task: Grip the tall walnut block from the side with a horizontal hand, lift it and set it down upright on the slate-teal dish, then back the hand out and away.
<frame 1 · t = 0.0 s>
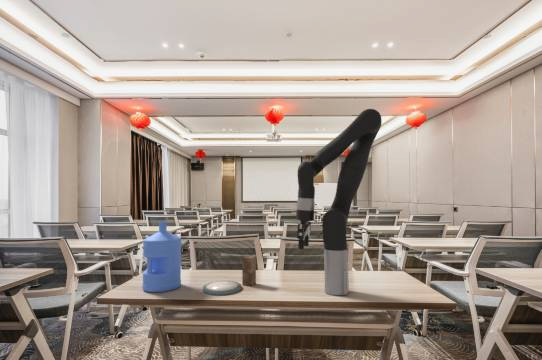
hand: (303, 247, 126), 17 cm above the table, tool pointing down, fingers open, 8 cm apart
walnut block: (249, 284, 132), on the table
teal dish: (222, 289, 126), on the table
water jug: (161, 287, 129), on the table
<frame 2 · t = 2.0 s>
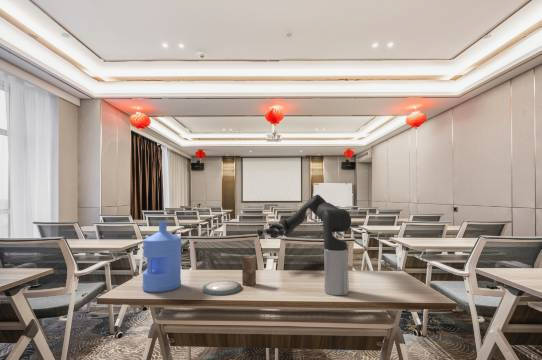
hand: (266, 233, 155), 20 cm above the table, tool horizontal, fingers open, 8 cm apart
nothing on the table moved.
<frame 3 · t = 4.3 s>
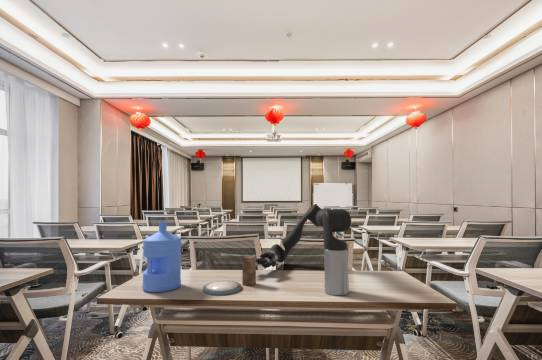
hand: (256, 265, 141), 7 cm above the table, tool horizontal, fingers open, 8 cm apart
nothing on the table moved.
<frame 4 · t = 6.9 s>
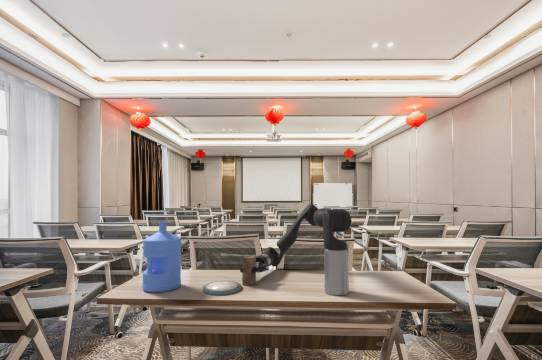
hand: (246, 270, 130), 7 cm above the table, tool horizontal, fingers closed on walnut block, 4 cm apart
walnut block: (249, 284, 132), on the table, touching gripper
everything else where it was.
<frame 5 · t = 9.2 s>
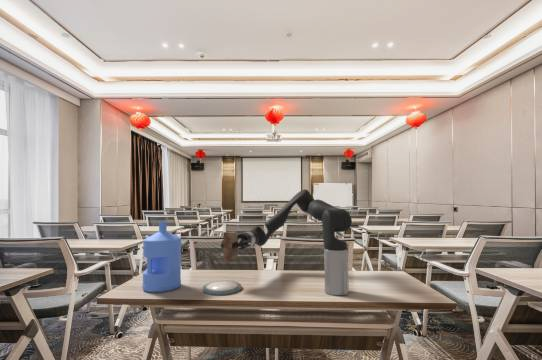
hand: (227, 245, 127), 18 cm above the table, tool horizontal, fingers closed on walnut block, 4 cm apart
walnut block: (230, 260, 129), point 11 cm above the table, touching gripper
everything else where it was.
when the fingers open (9 cm above the table, at t = 11.5 s): walnut block drops 1 cm, resting on teal dish.
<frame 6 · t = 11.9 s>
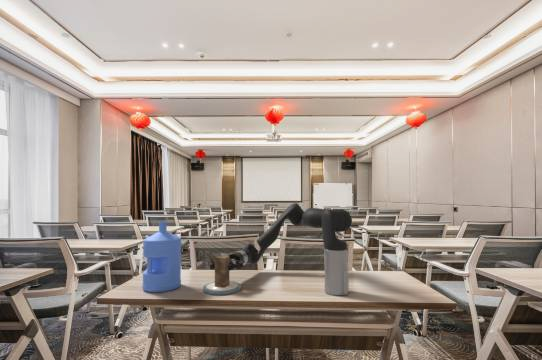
hand: (219, 267, 124), 9 cm above the table, tool horizontal, fingers open, 8 cm apart
walnut block: (222, 285, 126), point 1 cm above the table, touching teal dish
everything else where it was.
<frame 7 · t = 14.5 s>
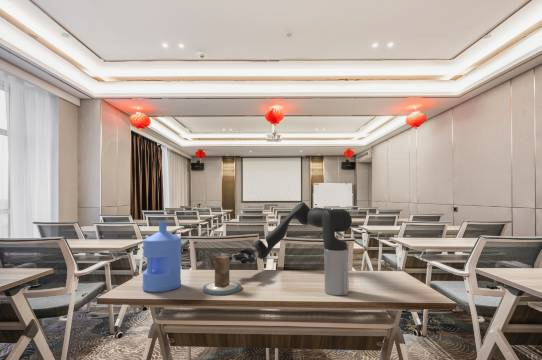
hand: (234, 261, 136), 9 cm above the table, tool horizontal, fingers open, 8 cm apart
nothing on the table moved.
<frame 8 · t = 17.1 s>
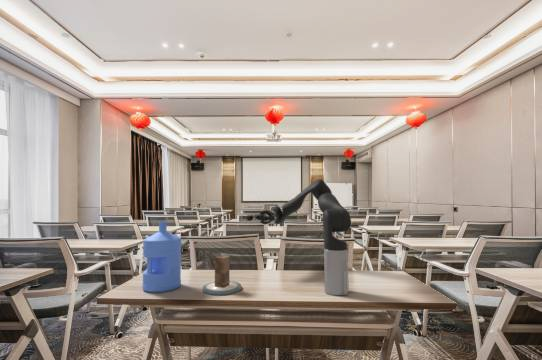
hand: (256, 218, 147), 28 cm above the table, tool horizontal, fingers open, 8 cm apart
nothing on the table moved.
at the end: walnut block inside the target area on the teal dish (0.1 cm from its centre), point 1.4 cm above the teal dish's base; walnut block tilted 0°; the gripper is holding nothing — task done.
